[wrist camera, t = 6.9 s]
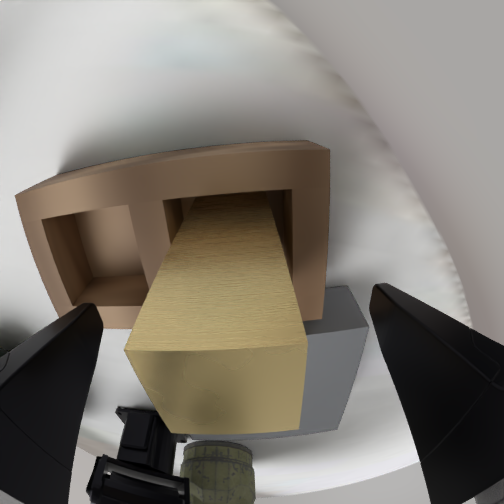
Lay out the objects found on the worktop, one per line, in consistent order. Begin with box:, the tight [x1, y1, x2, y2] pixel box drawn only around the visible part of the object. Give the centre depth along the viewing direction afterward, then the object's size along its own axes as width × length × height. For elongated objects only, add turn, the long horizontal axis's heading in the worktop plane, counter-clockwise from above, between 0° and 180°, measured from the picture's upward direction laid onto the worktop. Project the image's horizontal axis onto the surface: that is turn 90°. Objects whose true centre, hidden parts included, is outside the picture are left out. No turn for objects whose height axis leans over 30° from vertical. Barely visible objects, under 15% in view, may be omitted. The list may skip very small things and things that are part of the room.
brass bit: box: [124, 191, 308, 435], centre depth 10 cm, size 3×3×10 cm
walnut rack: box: [15, 140, 330, 329], centre depth 14 cm, size 14×8×4 cm, turn 94°
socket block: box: [189, 286, 369, 440], centre depth 19 cm, size 12×12×4 cm
